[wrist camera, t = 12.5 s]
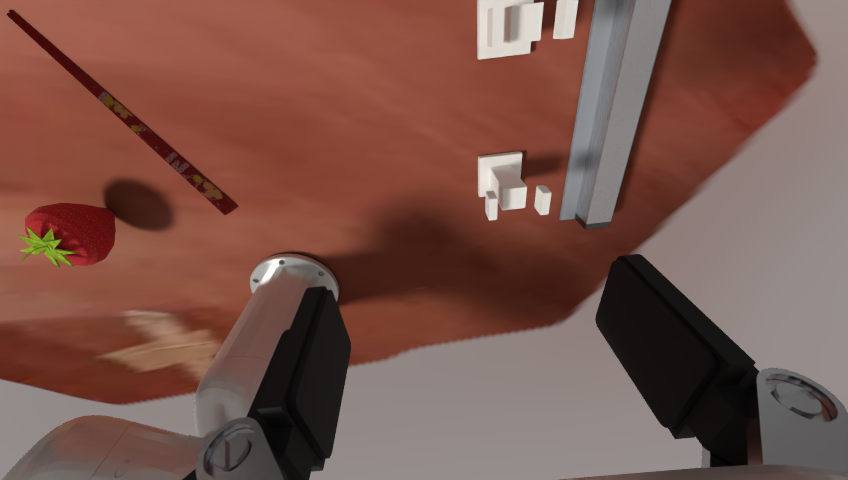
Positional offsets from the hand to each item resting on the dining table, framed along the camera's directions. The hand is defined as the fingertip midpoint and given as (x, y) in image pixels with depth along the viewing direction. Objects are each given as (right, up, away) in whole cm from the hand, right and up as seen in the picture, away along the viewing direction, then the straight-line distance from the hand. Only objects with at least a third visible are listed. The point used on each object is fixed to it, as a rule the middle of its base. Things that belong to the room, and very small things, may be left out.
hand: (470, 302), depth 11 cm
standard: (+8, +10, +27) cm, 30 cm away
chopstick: (-33, +15, +23) cm, 43 cm away
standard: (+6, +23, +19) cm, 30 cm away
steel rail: (+19, +16, +24) cm, 34 cm away
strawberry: (-41, +6, +28) cm, 50 cm away
